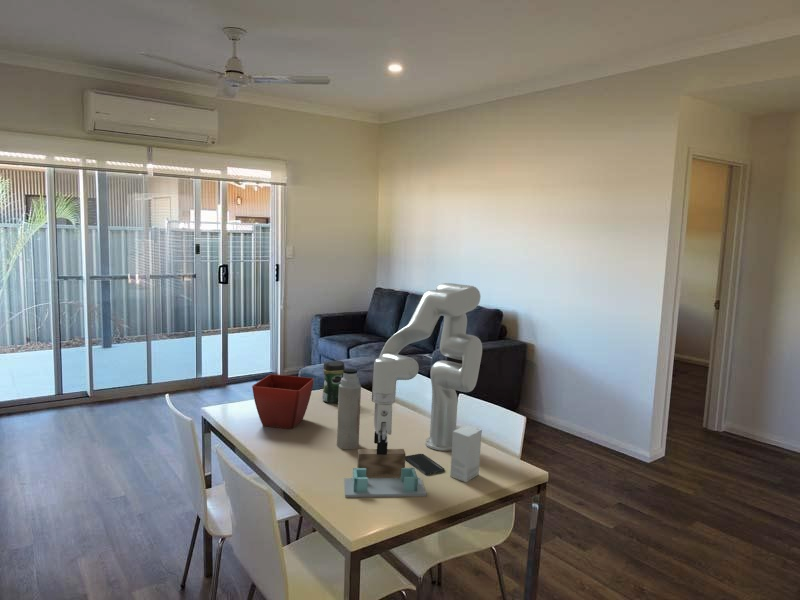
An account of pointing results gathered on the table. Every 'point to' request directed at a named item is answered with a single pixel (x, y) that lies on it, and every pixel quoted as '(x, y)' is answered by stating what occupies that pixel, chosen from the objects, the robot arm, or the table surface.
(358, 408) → the thermos bottle
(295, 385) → the plant pot
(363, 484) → the rail
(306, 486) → the table surface
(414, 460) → the phone
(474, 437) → the skincare box
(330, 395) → the coffee jar
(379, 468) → the brown wooden block
